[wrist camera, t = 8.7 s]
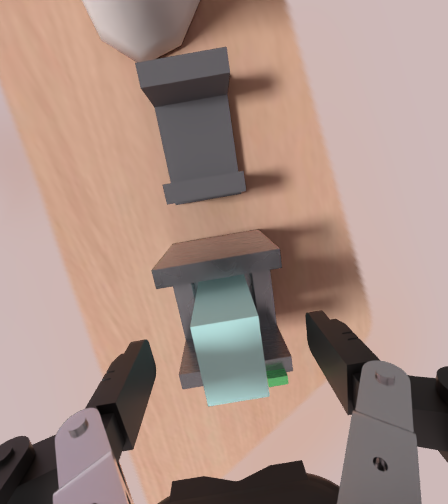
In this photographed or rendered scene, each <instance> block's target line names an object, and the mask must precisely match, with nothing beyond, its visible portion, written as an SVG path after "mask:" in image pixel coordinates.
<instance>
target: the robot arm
mask: <svg viewBox="0 0 448 504" xmlns="http://www.w3.org/2000/svg"><path fill="white" fill-rule="evenodd" d="M306 329H307V340H308V345H309V348H310V351H311V353H312V355H313V356H314V358H315V360H316V361H317V363H318V365H319V367H320V368H321V370H322V372H323V373H324V375H325V377H326V378H327V380H328V382H329V384H330V385H331V387H332V388H333V390H334V392H335V394H336V395H337V397H338V399H339V400H340V402H341V404H342V406H343V407H344V409H345V411H346V413H347V414H348V415H352V417H351V423H350V429H349V435H348V441H347V447H346V453H345V459H344V465H343V471H342V477H341V483H340V486H338V485H336V484H335V483H333V482H331V481H329V480H327V479H325V478H322V477H320V476H317V475H313V474H308V473H306V472H305V468H304V465H303V462H302V460H301V461H294V462H289V463H282V464H276V465H270V466H268V467H266V468H264V469H262V470H260V471H258V472H256V473H254V474H252V475H251V476H248V477H246V478H245V479H243V480H240V481H230V480H224V479H218V478H211V477H205V476H203V477H197V478H190V479H184V480H178V481H172V487H171V494H170V496H169V497H167V498H165V499H164V500H162V501H161V502H159V503H158V504H421V491H420V478H419V464H418V451H417V446H418V447H423V448H429V449H435V450H438V451H439V452H440V454H441V455H442V456H443V457H444V459H445V460H446V461H447V462H448V366H447V367H443V368H440V369H439V370H438V371H437V376H436V378H427V377H415V376H409V375H407V374H406V373H405V372H404V371H403V370H402V369H401V368H399V367H397V366H395V365H393V364H391V363H388V362H385V361H380V360H379V359H378V358H377V357H376V355H375V354H374V353H372V351H371V350H370V349H369V348H368V347H367V346H366V345H365V344H364V343H363V342H362V341H361V340H360V339H358V337H357V336H356V335H355V334H354V333H353V332H352V330H351V329H350V328H349V327H348V326H347V325H346V324H344V323H342V322H340V321H339V320H337V319H331V320H330V319H329V318H328V317H327V315H326V314H325V313H324V312H323V311H315V312H309V313H306ZM155 378H156V365H155V361H154V358H153V355H152V351H151V348H150V345H149V342H148V340H140V341H134V342H131V343H130V344H129V346H128V348H127V349H126V351H125V353H124V354H120V355H119V356H118V357H117V358H116V359H115V360H114V361H113V362H112V363H111V365H110V367H109V369H108V370H107V373H106V374H105V375H104V377H103V379H102V381H101V382H100V384H99V386H98V388H97V389H96V391H95V393H94V394H93V396H92V398H91V399H90V401H89V403H88V404H87V406H86V408H85V409H83V410H81V411H79V412H77V413H75V414H74V415H73V416H71V417H70V418H68V419H67V420H66V421H65V422H64V423H63V425H62V426H61V427H60V428H59V430H58V432H57V434H56V435H54V436H52V437H49V438H47V439H45V440H42V441H40V442H38V443H36V444H33V445H32V444H31V442H30V440H29V438H28V437H26V436H19V437H15V438H13V439H10V440H8V441H6V442H5V443H3V444H2V445H0V504H134V503H133V500H132V497H131V494H130V491H129V488H128V486H127V482H126V480H125V477H124V474H123V471H122V468H121V465H120V463H119V459H120V456H121V453H122V451H127V450H133V449H134V445H135V442H136V439H137V436H138V433H139V429H140V426H141V423H142V420H143V416H144V413H145V410H146V407H147V404H148V400H149V397H150V394H151V391H152V387H153V384H154V381H155Z"/></svg>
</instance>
